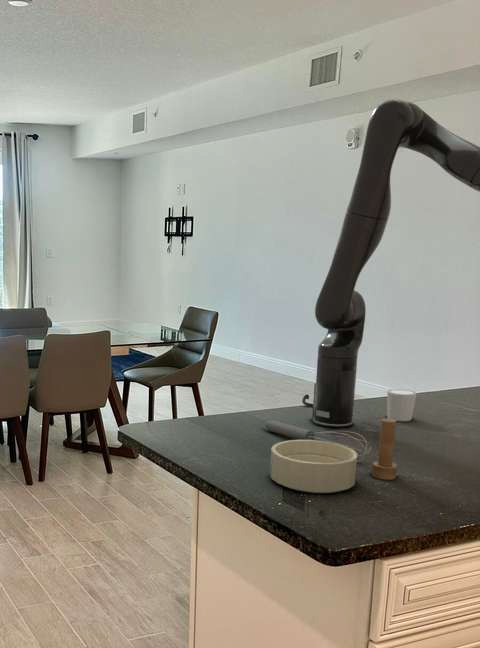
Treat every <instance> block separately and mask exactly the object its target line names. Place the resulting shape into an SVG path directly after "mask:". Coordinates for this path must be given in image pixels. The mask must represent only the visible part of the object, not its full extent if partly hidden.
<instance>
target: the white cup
mask: <svg viewBox="0 0 480 648" xmlns="http://www.w3.org/2000/svg"><path fill="white" fill-rule="evenodd" d="M416 398H417V392H416V391H413V390H409V389H389V390H387V391H386V402H387V404H386V407H387V408H386V409H387V410H386V411H387V412H386V413H387V415H386V416H387V417H386V418H387V419H394V420H396V422H409V421H412V419H413V413H414V409H415V404H416V400H417V399H416Z"/></svg>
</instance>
